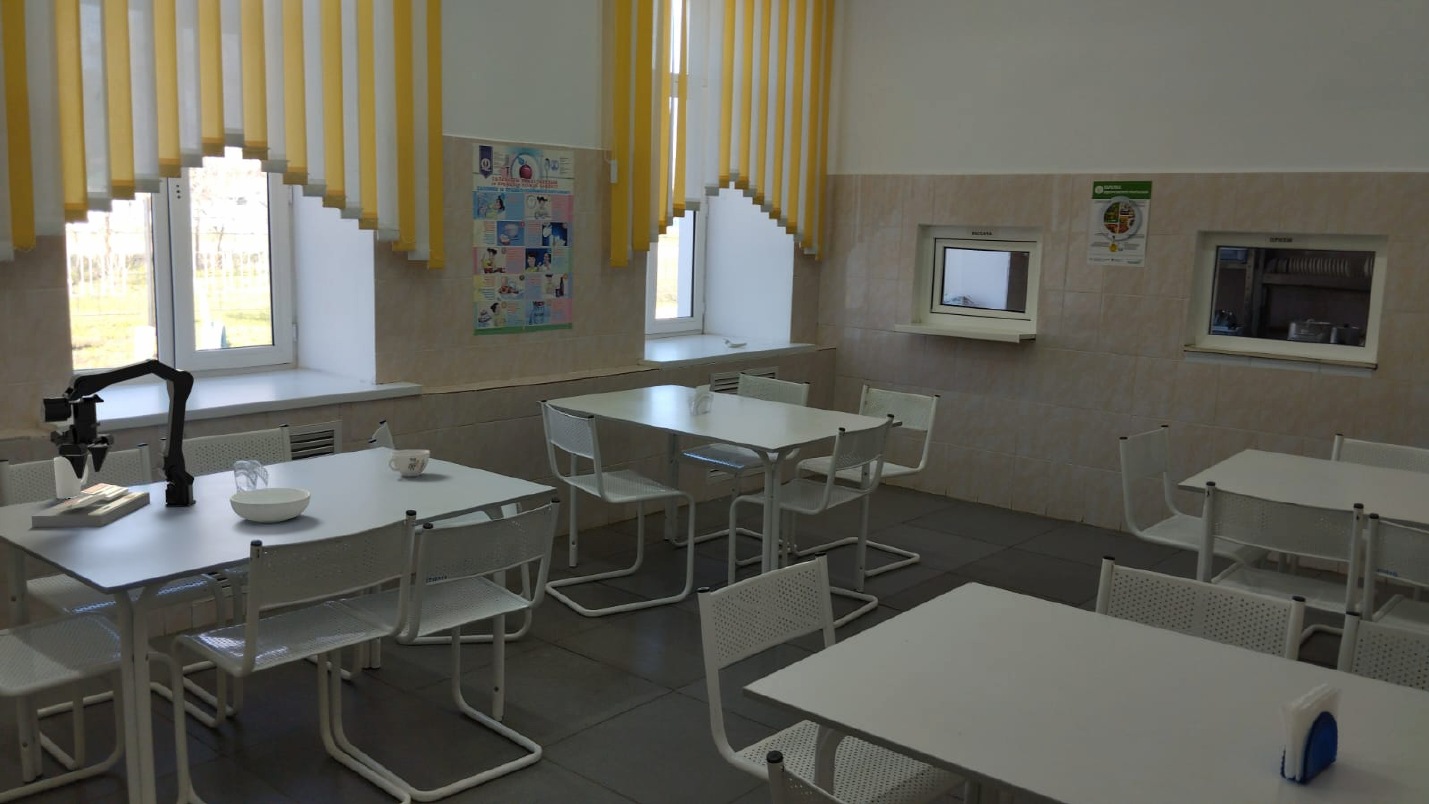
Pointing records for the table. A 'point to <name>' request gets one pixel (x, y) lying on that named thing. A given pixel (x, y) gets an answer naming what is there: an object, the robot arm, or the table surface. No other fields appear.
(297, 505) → the serving bowl
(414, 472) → the teacup
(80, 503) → the rocker
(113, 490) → the cream slotted panel
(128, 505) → the switch panel
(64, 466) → the mug
